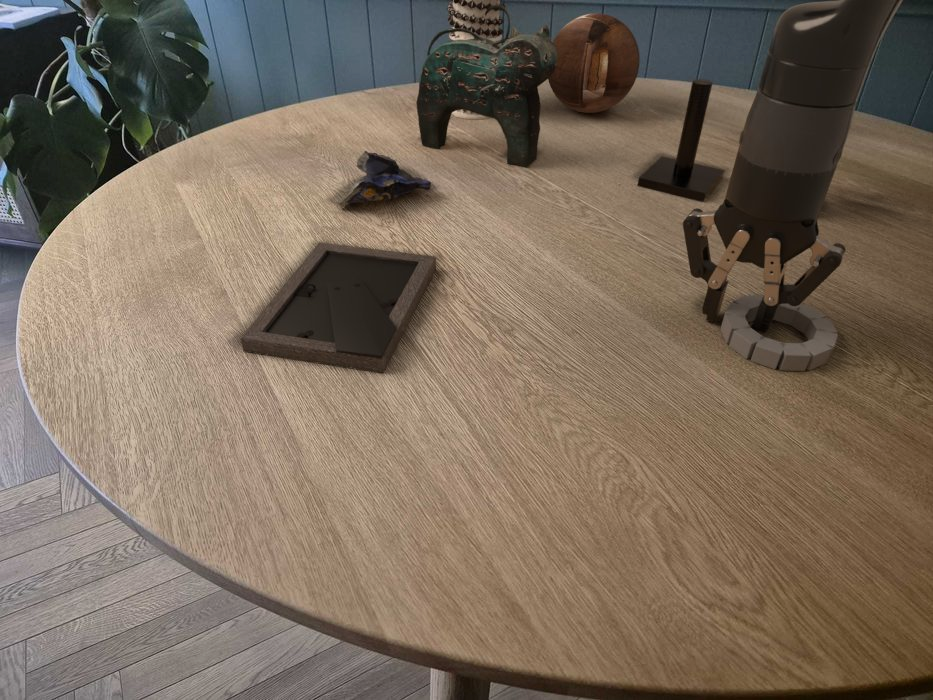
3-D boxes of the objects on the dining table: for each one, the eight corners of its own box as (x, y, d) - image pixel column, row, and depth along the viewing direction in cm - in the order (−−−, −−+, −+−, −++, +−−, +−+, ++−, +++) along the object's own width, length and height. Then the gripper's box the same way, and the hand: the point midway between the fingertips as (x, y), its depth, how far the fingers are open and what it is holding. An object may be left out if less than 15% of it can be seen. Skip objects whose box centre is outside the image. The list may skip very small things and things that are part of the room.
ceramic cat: (550, 159, 96) (564, 7, 83) (533, 175, 91) (544, 17, 79) (431, 135, 103) (428, -8, 91) (410, 149, 98) (403, 0, 86)
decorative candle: (436, 110, 113) (432, -62, 97) (475, 99, 118) (478, -66, 102) (472, 124, 107) (475, -55, 92) (512, 111, 112) (520, -60, 97)
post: (722, 178, 91) (748, 78, 83) (703, 202, 85) (729, 97, 77) (660, 164, 95) (679, 67, 87) (637, 185, 89) (655, 84, 81)
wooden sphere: (560, 92, 121) (568, 1, 112) (641, 104, 116) (656, 10, 106) (530, 117, 110) (536, 18, 101) (617, 131, 105) (633, 29, 96)
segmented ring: (838, 329, 63) (844, 314, 62) (819, 384, 57) (827, 368, 56) (736, 299, 67) (741, 284, 66) (709, 347, 61) (713, 331, 60)
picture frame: (383, 373, 58) (435, 269, 71) (381, 355, 56) (435, 253, 70) (243, 351, 60) (321, 254, 74) (239, 333, 59) (318, 238, 72)
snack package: (332, 182, 89) (336, 219, 80) (334, 135, 86) (339, 168, 76) (419, 190, 92) (432, 226, 83) (425, 144, 89) (440, 177, 80)
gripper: (891, 154, 53) (818, 329, 63) (714, 120, 58) (674, 285, 69) (879, 188, 48) (802, 371, 58) (687, 147, 53) (649, 320, 64)
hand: (733, 323), depth 64 cm, fingers open, 3 cm apart
